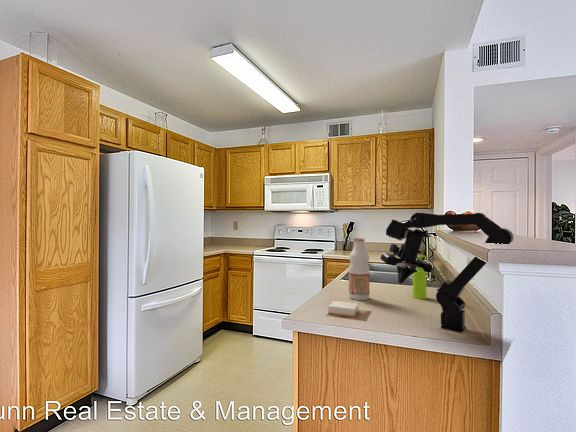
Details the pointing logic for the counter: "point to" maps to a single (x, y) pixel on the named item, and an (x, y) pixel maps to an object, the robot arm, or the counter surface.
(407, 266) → the robot arm
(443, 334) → the counter surface
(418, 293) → the soap dispenser
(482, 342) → the counter surface
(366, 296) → the fruit juice
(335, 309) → the white box
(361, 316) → the board
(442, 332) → the counter surface
